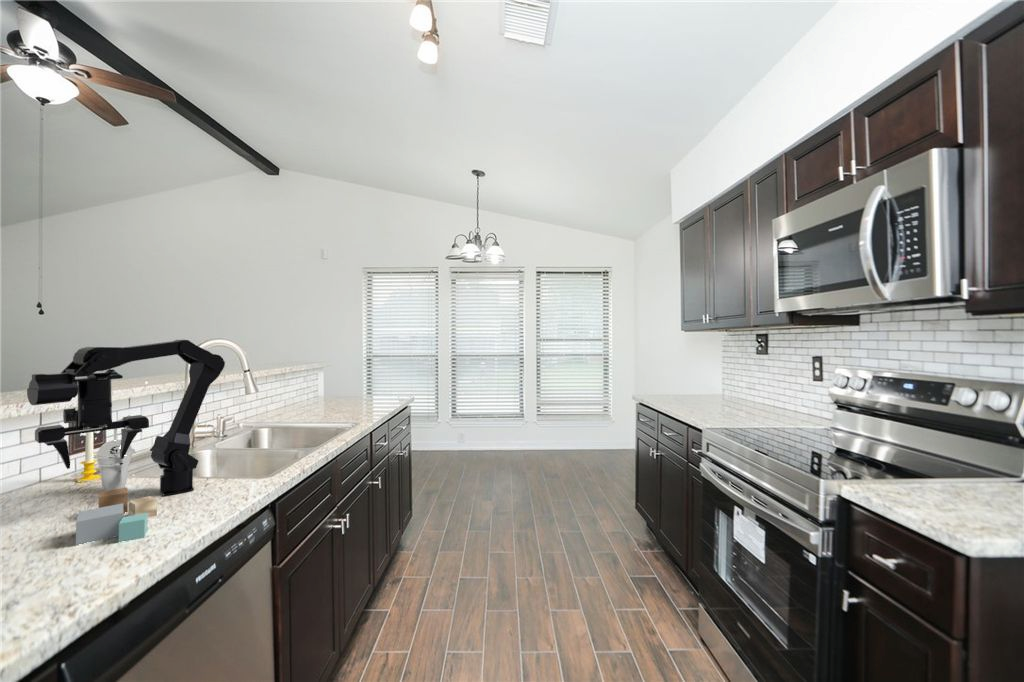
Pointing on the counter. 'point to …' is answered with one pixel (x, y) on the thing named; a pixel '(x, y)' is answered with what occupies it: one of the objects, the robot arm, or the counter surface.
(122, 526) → the teal cube
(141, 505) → the maple cube
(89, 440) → the candle
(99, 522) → the grey cube
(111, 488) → the cup with straw
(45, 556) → the counter surface
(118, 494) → the walnut cube
